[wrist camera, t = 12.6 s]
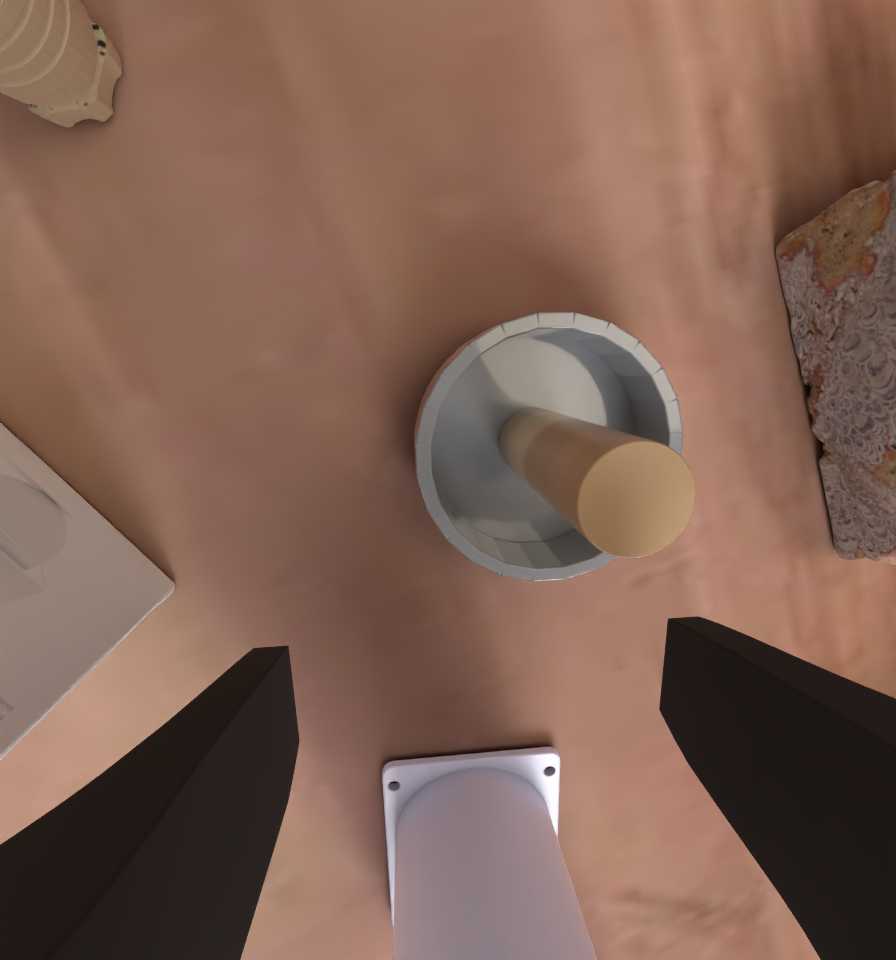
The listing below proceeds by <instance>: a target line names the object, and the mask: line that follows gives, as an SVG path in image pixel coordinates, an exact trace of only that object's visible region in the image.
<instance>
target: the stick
mask: <svg viewBox="0 0 896 960" xmlns="http://www.w3.org/2000/svg"><path fill="white" fill-rule="evenodd" d="M499 448H500V452H501V455H502V458H503V460H504V461H505V462H506V464H507V465H508V466H509V467H510V468H511V469H512V470H513V471H514V472H515V473H517V474H518V475H519V476H520V477H521V478H522V479H523V480H524V481H525V482H526V483H527V484H528V485H529V486H530V487H532V488H533V489H534V490H535V491H536V492H537V493H538V494H539V495H540V496H541V497H542V498H543V499H544V500H545V501H546V502H548V503H549V504H550V505H551V506H552V507H553V508H554V509H555V510H556V511H557V512H558V513H559V514H560V515H561V516H563V517H564V518H565V519H566V520H567V521H568V522H569V523H570V524H571V525H572V526H573V527H574V528H575V529H576V530H578V531H579V532H580V533H581V534H582V535H583V536H584V537H585V538H586V539H587V540H588V541H589V542H590V543H591V544H593V545H594V546H595V547H596V548H597V549H599V550H600V551H602V552H604V553H606V554H608V555H611V556H614V557H618V558H641V557H645V556H648V555H651V554H654V553H656V552H658V551H660V550H662V549H663V548H665V547H666V546H668V545H669V544H670V543H672V542H673V541H674V540H675V539H676V538H677V537H678V536H679V535H680V533H681V532H682V531H683V529H684V528H685V526H686V525H687V523H688V521H689V519H690V517H691V514H692V511H693V508H694V503H695V492H696V491H695V482H694V478H693V475H692V472H691V470H690V468H689V466H688V464H687V463H686V461H685V460H684V459H683V457H682V456H681V455H680V454H679V453H677V452H676V451H675V450H673V449H672V448H671V447H669V446H667V445H665V444H662V443H659V442H656V441H653V440H649V439H646V438H642V437H639V436H635V435H632V434H629V433H625V432H622V431H618V430H615V429H611V428H608V427H604V426H601V425H598V424H594V423H591V422H587V421H584V420H580V419H577V418H574V417H570V416H567V415H563V414H560V413H556V412H553V411H550V410H546V409H543V408H536V407H532V408H526V409H523V410H520V411H518V412H516V413H515V414H514V415H512V416H511V417H510V418H509V419H508V420H507V421H506V423H505V424H504V426H503V428H502V430H501V433H500V438H499Z"/></svg>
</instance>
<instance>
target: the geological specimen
mask: <svg viewBox="0 0 896 960" xmlns="http://www.w3.org/2000/svg"><path fill="white" fill-rule="evenodd" d="M775 255H776V259H777V264H778V268H779V273H780V278H781V283H782V288H783V293H784V297H785V301H786V304H787V308H788V311H789V314H790V318H791V333H792V338H793V342H794V346H795V351H796V354H797V356H798V358H799V360H800V368H801V376H802V379H803V383H804V384H806V385H808V386H809V387H811V389H810V393H809V395H808V397H807V405H808V411H809V412H810V414H811V416H812V418H813V422H812V431H813V433H814V434H815V435H816V437H817V438H818V439H819V440H820V441H822V442H823V447H822V448H823V451H824V455H823V456H822V457H821V459H820V460H819V466H820V470H821V474H822V479H823V484H824V491H825V496H826V501H827V506H828V511H829V515H830V520H831V525H832V531H833V538H834V540H833V544H834V547H835V549H836V551H837V553H838V555H839V557H840V558H843V559H847V560H854V559H860V558H864V559H867V560H869V559H871V560H874V561H880V562H885V563H889V564H895V565H896V170H894V171H893V172H892V173H891V175H890V176H889V178H888V179H887V181H885V182H880V181H877V180H875V181H873V182H871V183H869V184H867V185H865V186H863V187H861V188H857V189H853V190H851V191H850V192H849V193H847V194H846V195H845V196H843V197H842V198H840V199H839V200H837V201H836V202H834V203H833V204H831V205H830V206H828V208H827V210H825V211H822V212H821V213H820V214H819V215H818V216H816V217H815V218H814V219H813V220H811V221H810V222H808V223H805V224H803V225H801V226H800V227H799V228H797V229H796V230H794V231H793V232H791V233H789V234H788V235H786V236H785V237H784V238H783V240H782V241H781V242H780V243H779V244H778V245H777V249H776V254H775Z"/></svg>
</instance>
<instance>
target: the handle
mask: <svg viewBox="0 0 896 960" xmlns="http://www.w3.org/2000/svg"><path fill="white" fill-rule="evenodd" d="M121 75H122V63H121V59H120V57H119V54H118V52H117V51H116V49H115V47H114V46H113V44H112V42H111V40H110V39H109V37H108V36H107V35H106V33H105V32H104V30H103V29H102V28H101V26H100V25H99V24H98V23H94V22H92V21H91V20H90V18H89V15H88V12H87V11H86V9H85V7H84V5H83V3H82V2H81V0H0V93H3V94H5V95H7V96H9V97H12V98H14V99H16V100H18V101H21V102H23V103H27V105H28V109H29V110H30V111H31V112H33V113H35V114H37V115H39V116H41V117H42V118H44V119H46V120H49V121H51V122H54V123H56V124H59V125H61V126H64V127H68V128H69V127H73V126H74V125H75V123H77V122H79V121H81V120H85V119H96V120H99V121H101V122H104V121H105V120H107V119H108V118H109V117H110V116H111V115H112V114H113V112H114V111H113V108H112V96H113V90H114V86H115V83H116V81H117V79H118V78H119V77H121Z"/></svg>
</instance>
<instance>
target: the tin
mask: <svg viewBox="0 0 896 960" xmlns="http://www.w3.org/2000/svg"><path fill="white" fill-rule="evenodd" d="M676 398H677V396H676V394H675V392H674V390H673V387H672V385H671V383H670V381H669V379H668V377H667V375H666V373H665V370H664V368H663V367H662V365H661V364H660V363H659V362H658V361H657V360H656V359H655V357H654V356H653V355H652V354H651V353H650V352H649V351H648V349H647V348H646V347H645V346H644V345H643V344H642V343H641V342H640V341H639V340H638V339H637V338H635V337H634V336H632V335H630V334H629V333H627V332H626V331H624V330H622V329H621V328H619V327H618V326H616V325H615V324H613V323H611V322H608V321H606V320H603V319H599V318H595V317H592V316H588V315H585V314H581V313H577V312H538V313H533V314H529V315H526V316H523V317H519V318H516V319H513V320H509V321H506V322H503V323H500V324H498V325H496V326H494V327H492V328H490V329H487V330H485V331H484V332H482V333H480V334H479V335H477V336H476V337H474V338H472V339H471V340H469V341H468V342H466V343H465V344H463V345H461V346H460V347H459V348H458V349H457V350H456V351H455V352H454V353H453V354H452V355H451V356H450V357H449V358H448V359H447V360H446V361H445V362H444V363H443V365H442V366H441V367H440V368H439V369H438V370H437V372H436V373H435V375H434V377H433V378H432V380H431V382H430V383H429V385H428V387H427V389H426V391H425V394H424V396H423V398H422V400H421V402H420V407H419V410H418V414H417V419H416V425H415V429H414V450H415V466H416V475H417V480H418V484H419V487H420V490H421V493H422V496H423V499H424V502H425V505H426V509H427V510H428V513H429V515H430V516H431V518H432V519H433V521H434V522H435V524H436V525H437V527H438V528H439V530H440V531H441V533H442V534H443V536H444V537H445V538H446V539H447V541H448V542H449V543H451V544H452V545H453V546H454V547H455V548H456V549H457V550H459V551H460V552H461V553H462V554H463V555H464V556H465V557H467V558H468V559H469V560H471V561H472V562H474V563H476V564H478V565H480V566H482V567H484V568H486V569H488V570H490V571H492V572H494V573H496V574H499V575H501V576H506V577H511V578H517V579H522V580H527V581H547V580H563V579H568V578H571V577H574V576H578V575H581V574H584V573H587V572H590V571H594V570H596V568H597V569H599V568H600V567H602V566H604V565H605V564H607V563H609V562H610V561H612V560H614V559H615V558H617V557H614V556H611V555H608V554H606V553H604V552H602V551H600V550H599V549H597V548H596V547H595V546H594V545H593V544H591V543H590V542H589V541H588V540H587V539H586V538H585V537H584V536H583V535H582V534H581V533H580V532H579V531H578V530H576V529H575V528H574V527H573V526H572V525H571V524H570V523H569V522H568V521H567V520H566V519H565V518H564V517H563V516H561V515H560V514H559V513H558V512H557V511H556V510H555V509H554V508H553V507H552V506H551V505H550V504H549V503H548V502H546V501H545V500H544V499H543V498H542V497H541V496H540V495H539V494H538V493H537V492H536V491H535V490H534V489H533V488H532V487H530V486H529V485H528V484H527V483H526V482H525V481H524V480H523V479H522V478H521V477H520V476H519V475H518V474H517V473H515V472H514V471H513V470H512V469H511V468H510V467H509V466H508V465H507V464H506V462H505V461H504V460H503V458H502V455H501V452H500V448H499V438H500V433H501V430H502V428H503V426H504V424H505V423H506V421H507V420H508V419H509V418H510V417H511V416H512V415H514V414H515V413H516V412H518V411H520V410H523V409H526V408H532V407H536V408H543V409H546V410H550V411H553V412H556V413H560V414H563V415H567V416H570V417H574V418H577V419H580V420H584V421H587V422H591V423H594V424H598V425H601V426H604V427H608V428H611V429H615V430H618V431H622V432H625V433H629V434H632V435H635V436H639V437H642V438H646V439H649V440H653V441H656V442H659V443H662V444H665V445H667V446H669V447H671V448H672V449H673V450H675V451H676V452H677V453H679V454H680V455H681V453H682V442H683V433H682V432H683V428H682V422H681V416H680V410H679V404H678V400H677V399H676Z"/></svg>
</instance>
